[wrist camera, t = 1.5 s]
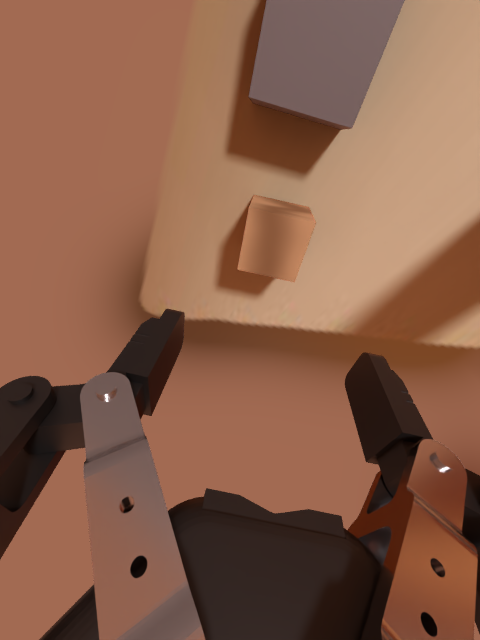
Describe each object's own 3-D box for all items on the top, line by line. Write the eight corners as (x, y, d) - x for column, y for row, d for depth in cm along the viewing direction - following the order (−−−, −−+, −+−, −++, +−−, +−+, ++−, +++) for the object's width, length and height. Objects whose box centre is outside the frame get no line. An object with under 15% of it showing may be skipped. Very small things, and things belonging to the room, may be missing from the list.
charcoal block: (396, -17, 15) (427, -56, 12) (340, 129, 20) (352, 128, 17) (284, -54, 15) (286, -105, 12) (253, 103, 20) (248, 97, 16)
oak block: (308, 206, 24) (316, 222, 19) (291, 258, 27) (294, 282, 23) (254, 194, 23) (248, 207, 19) (243, 248, 27) (237, 269, 22)
